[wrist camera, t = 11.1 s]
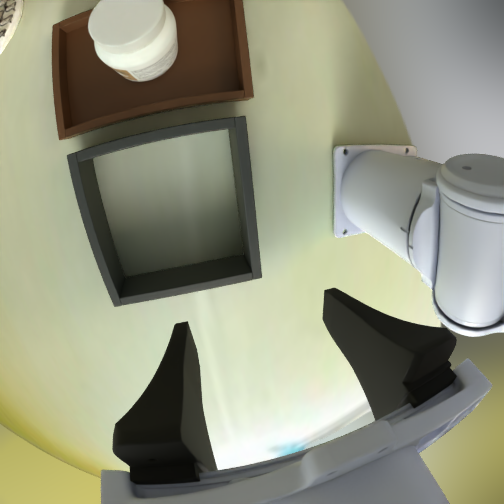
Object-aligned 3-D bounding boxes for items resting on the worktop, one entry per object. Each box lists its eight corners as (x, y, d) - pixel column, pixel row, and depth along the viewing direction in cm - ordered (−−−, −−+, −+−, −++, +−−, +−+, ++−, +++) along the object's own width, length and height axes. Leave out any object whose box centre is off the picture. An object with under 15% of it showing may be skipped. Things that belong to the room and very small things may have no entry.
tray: (235, -6, 13) (240, -17, 11) (247, 100, 17) (254, 97, 16) (61, 31, 11) (52, 25, 9) (69, 138, 15) (58, 140, 14)
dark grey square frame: (236, 117, 18) (245, 115, 15) (252, 259, 23) (262, 278, 20) (82, 150, 16) (66, 155, 13) (120, 285, 21) (114, 307, 19)
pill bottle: (106, 47, 13) (67, 10, 6) (164, 17, 13) (156, -36, 6) (129, 94, 15) (94, 75, 8) (187, 64, 15) (190, 27, 8)
